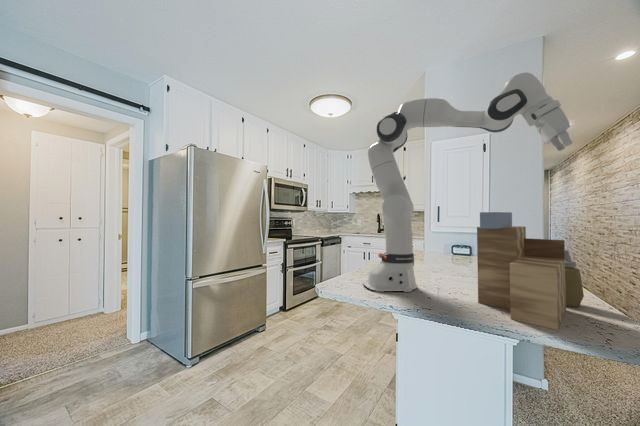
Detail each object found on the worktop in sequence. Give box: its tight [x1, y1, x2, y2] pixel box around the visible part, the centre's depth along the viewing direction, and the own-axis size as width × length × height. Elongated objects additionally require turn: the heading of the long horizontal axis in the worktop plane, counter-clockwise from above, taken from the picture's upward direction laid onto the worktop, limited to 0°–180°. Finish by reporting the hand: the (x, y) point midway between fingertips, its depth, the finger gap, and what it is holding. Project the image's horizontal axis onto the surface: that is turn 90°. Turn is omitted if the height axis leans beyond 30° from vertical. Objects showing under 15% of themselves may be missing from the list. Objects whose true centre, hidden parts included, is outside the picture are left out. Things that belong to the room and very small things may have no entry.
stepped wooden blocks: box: [476, 225, 567, 331], centre depth 83 cm, size 23×21×26 cm
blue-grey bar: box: [479, 211, 513, 229], centre depth 86 cm, size 19×4×5 cm, turn 132°
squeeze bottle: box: [565, 249, 585, 308], centre depth 86 cm, size 8×8×18 cm
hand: (565, 147), depth 86 cm, fingers open, 8 cm apart
